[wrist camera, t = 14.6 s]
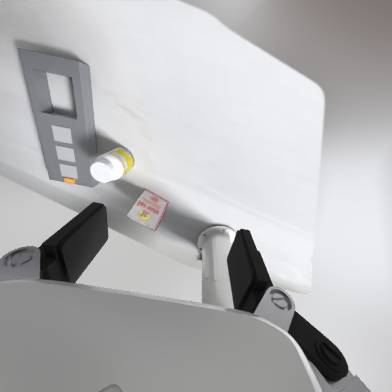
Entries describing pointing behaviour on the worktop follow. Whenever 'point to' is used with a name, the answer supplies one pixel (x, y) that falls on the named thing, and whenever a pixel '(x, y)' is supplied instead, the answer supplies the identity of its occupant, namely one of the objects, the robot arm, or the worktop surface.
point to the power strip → (62, 118)
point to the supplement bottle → (112, 165)
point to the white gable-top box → (148, 210)
